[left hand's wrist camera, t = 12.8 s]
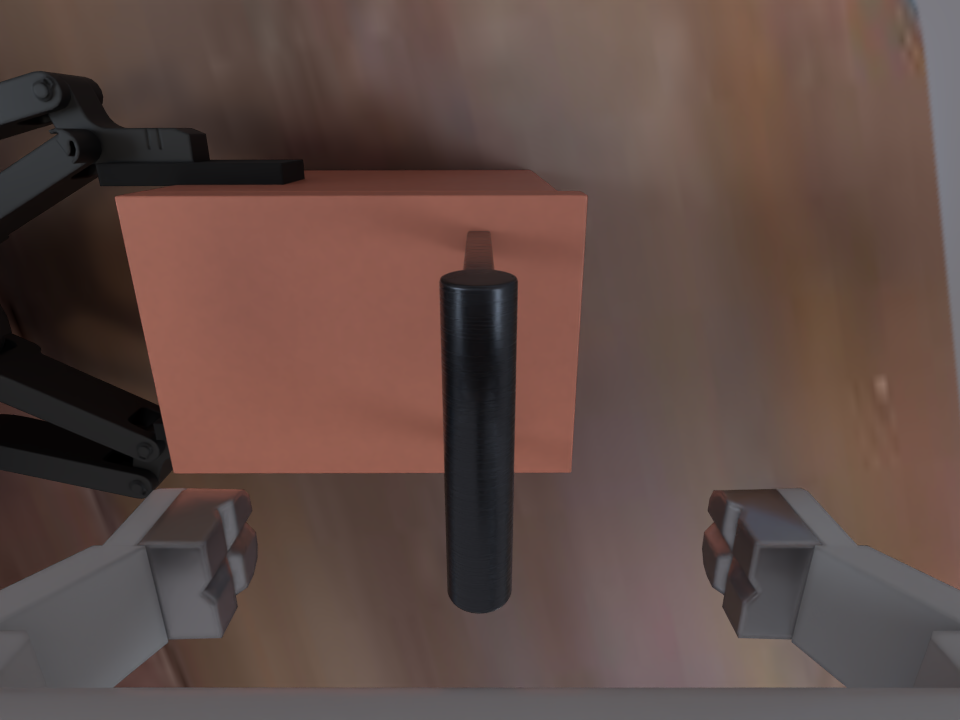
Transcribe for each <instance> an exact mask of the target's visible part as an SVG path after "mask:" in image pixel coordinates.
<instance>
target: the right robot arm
mask: <svg viewBox="0 0 960 720" xmlns="http://www.w3.org/2000/svg"><path fill="white" fill-rule="evenodd" d="M102 103H103V94H102V91H101V89H100V87H99V86H98V84H97V83H96V82H94V81H93V80H92V79H89V78H86V77H80V76H73V75H66V74H58V73H51V72H43V71H36V72H31V73H28V74H25V75H22V76H19V77H15V78H12V79H9V80H6V81H2V82H0V140H1V139H4V138H8V137H11V136H14V135H18V134H21V133H24V132H28V131H31V130H34V129H37V128H41V127H44V126H47V125H51V124H54V126H55V128H54V129H52V130H49V132H50V133H51V134H57V135H56V136H54V137H53V138H51V139H50V140H48V141H47V142H45V143H44V144H42V145H41V146H39V147H38V148H36V149H35V150H33V151H32V152H30V153H29V154H27V155H26V156H24V157H23V158H21V159H20V160H18V161H17V162H15V163H14V164H12V165H11V166H9V167H8V168H6V169H5V170H4V171H2V172H1V173H0V243H2V242H3V241H5V240H6V239H8V238H9V236H8V235H9V234H10V233H12V232H13V231H15V230H16V229H18V228H19V227H21V226H22V225H24V224H26V223H27V222H29V221H30V220H32V219H33V218H35V217H36V216H38V215H40V214H41V213H43V212H44V211H46V210H47V209H49V208H50V207H52V206H54V205H55V204H57V203H58V202H60V201H61V200H63V199H64V198H66V197H67V196H69V195H71V194H72V193H74V192H75V191H77V190H78V189H80V188H81V187H83V186H85V185H86V184H88V183H89V182H91V181H92V180H94V179H95V178H97V177H99V182H100V186H174V185H285V184H288V183H292V182H296V181H299V180H303V179H305V176H304V166H303V160H210V158H209V152H208V145H207V139H206V134H205V133H202V132H200V131H197V130H195V129H192V128H124V127H121V126H119V125H117V124H116V123H114V122H113V121H112V120H111V119H110V118H109V116H108V115H107V113H106V111H105V110H104V108H103V106H102ZM0 402H2V403H5V404H7V405H9V406H12V407H14V408H17V409H19V410H21V411H24V412H26V413H28V414H31V415H33V416H36V417H38V418H40V419H43V420H45V421H42V420H38V419H33V418H29V417H24V416H18V415H9V414H0V470H4V471H9V472H14V473H19V474H23V475H28V476H33V477H38V478H43V479H47V480H52V481H57V482H62V483H67V484H71V485H76V486H81V487H86V488H91V489H95V490H100V491H105V492H110V493H115V494H119V495H124V496H129V497H134V498H146V497H147V496H148V495H149V494H150V493H151V492H152V491H153V490H155V489H156V488H157V487H158V485H159V484H160V483H161V482H162V481H163V480H164V479H165V478H166V477H167V476H168V474H169V473H170V472H171V471H172V470H173V467H172V462H171V458H170V453H169V448H168V444H167V439H166V434H165V430H164V425H163V420H162V416H161V411H160V406H159V405H156V404H154V403H152V402H150V401H147V400H145V399H143V398H141V397H138V396H136V395H134V394H131V393H129V392H127V391H125V390H122V389H120V388H118V387H116V386H113V385H111V384H109V383H106V382H104V381H102V380H100V379H97V378H95V377H93V376H90V375H88V374H86V373H84V372H81V371H79V370H77V369H75V368H72V367H70V366H68V365H65V364H63V363H61V362H59V361H56V360H54V359H52V358H50V357H47V356H45V355H43V354H42V353H41V348H40V347H39V346H38V345H36V344H34V343H32V342H30V341H28V340H25V339H23V338H21V337H19V336H16V335H14V334H12V331H11V328H10V325H9V321H8V318H7V315H6V313H5V312H4V310H3V308H2V306H1V305H0Z"/></svg>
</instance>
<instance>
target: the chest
mask: <svg viewBox="0 0 960 720" xmlns="http://www.w3.org/2000/svg"><path fill="white" fill-rule="evenodd" d="M304 176H305V179H303V180H299V181H296V182H292V183H288V184H285V185H174V186H168V187H163V188H157V189H152V190H146V191H140V192H395V191H557V190H556V189H554V188H553V187H552V186H551V185H549V184H548V183H547V182H545V181H544V180H543V179H542V178H540V177H539V176H538V175H536V174H535V173H534V172H533V171H531V170H304Z"/></svg>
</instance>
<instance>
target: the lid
mask: <svg viewBox="0 0 960 720" xmlns="http://www.w3.org/2000/svg"><path fill="white" fill-rule="evenodd" d="M115 201H116V206H117V210H118V215H119V220H120V224H121V229H122V234H123V238H124V243H125V248H126V252H127V257H128V262H129V266H130V271H131V276H132V280H133V285H134V290H135V294H136V299H137V304H138V308H139V313H140V318H141V322H142V327H143V332H144V336H145V341H146V346H147V350H148V355H149V360H150V364H151V369H152V374H153V378H154V383H155V388H156V392H157V397H158V402H159V406H160V411H161V416H162V420H163V425H164V430H165V434H166V439H167V444H168V448H169V453H170V458H171V462H172V467H173V472H174V473H444V477H445V514H446V551H447V588H448V595H449V597H450V599H451V601H452V602H453V603H454V604H455V605H456V606H457V607H459V608H460V609H462V610H464V611H467V612H471V613H488V612H492V611H495V610H497V609H499V608H500V607H502V606H503V605H504V604H505V603H506V602H507V601H508V599H509V597H510V595H511V591H512V545H513V498H514V473H570V472H571V466H572V449H573V432H574V416H575V399H576V383H577V366H578V350H579V333H580V317H581V300H582V284H583V267H584V251H585V234H586V218H587V201H588V196H587V195H586V194H584V193H583V192H581V191H395V192H135V193H129V194H124V195H118V196H115Z"/></svg>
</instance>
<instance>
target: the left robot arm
mask: <svg viewBox="0 0 960 720" xmlns="http://www.w3.org/2000/svg"><path fill="white" fill-rule="evenodd" d="M251 512H252V507H251V502H250V497H249V494H248V493H247V492H246V491H245V490H243V489H194V488H189V489H186V488H160V489H156V490H153V491H152V492H151V493H150V494H149V495H148V496H147V498H146V499H145V500H144V501H143V502H142V503H141V504H140V505H139V506H138V507H137V508H136V510H135V511H134V512H133V513H132V514H131V515H130V516H129V517H128V518H127V519H126V520H125V522H124V523H123V524H122V525H121V526H120V527H119V528H118V529H117V530H116V531H115V532H114V534H113V535H112V536H111V537H110V538H109V539H108V540H107V541H106V542H105V543H104V544H103V546H91V547H89V548H87V549H85V550H83V551H81V552H79V553H77V554H75V555H72V556H70V557H68V558H66V559H64V560H62V561H60V562H58V563H56V564H54V565H52V566H50V567H47V568H45V569H43V570H41V571H39V572H37V573H35V574H33V575H31V576H29V577H27V578H25V579H23V580H20V581H18V582H16V583H14V584H12V585H10V586H8V587H6V588H4V589H2V590H0V720H960V590H958V589H956V588H954V587H952V586H950V585H948V584H946V583H944V582H941V581H939V580H937V579H935V578H933V577H931V576H929V575H927V574H925V573H923V572H921V571H919V570H917V569H914V568H912V567H910V566H908V565H906V564H904V563H902V562H900V561H898V560H896V559H894V558H892V557H890V556H887V555H885V554H883V553H881V552H879V551H877V550H875V549H873V548H871V547H869V546H857V544H856V543H855V542H854V541H853V540H852V539H851V538H850V537H849V536H848V535H847V534H846V532H845V531H844V530H843V529H842V528H841V527H840V526H839V525H838V524H837V523H836V522H835V520H834V519H833V518H832V517H831V516H830V515H829V514H828V513H827V512H826V511H825V510H824V508H823V507H822V506H821V505H820V504H819V503H818V502H817V501H816V500H815V499H814V498H813V496H812V495H811V494H810V493H809V492H808V491H806V490H804V489H802V488H781V489H757V490H714V491H713V493H712V495H711V497H710V500H709V506H708V512H709V514H710V516H711V517H712V519H713V521H714V523H713V524H712V525H711V526H710V527H709V528H708V529H707V530H706V531H705V532H704V538H703V546H702V552H703V564H704V568H705V571H706V574H707V577H708V579H709V581H710V583H711V585H712V587H713V588H714V589H716V590H717V591H719V592H720V593H722V594H723V595H724V600H723V606H722V607H723V609H724V611H725V613H726V615H727V617H728V619H729V621H730V623H731V625H732V626H733V628H734V630H735V632H736V634H737V636H738V638H761V639H792V643H794V644H795V645H796V646H797V647H798V648H800V649H801V650H802V651H803V652H805V653H806V654H807V655H808V656H809V657H811V658H812V659H813V660H814V661H816V662H817V663H818V664H819V665H820V666H822V667H823V668H824V669H825V670H827V671H828V672H829V673H830V674H831V675H833V676H834V677H835V678H836V679H837V680H839V681H840V682H841V683H842V684H844V685H845V686H846V687H847V688H113V687H114V686H115V685H117V684H118V683H119V682H120V681H122V680H123V679H124V678H125V677H126V676H128V675H129V674H130V673H131V672H132V671H134V670H135V669H136V668H137V667H139V666H140V665H141V664H142V663H143V662H145V661H146V660H147V659H148V658H150V657H151V656H152V655H153V654H154V653H156V652H157V651H158V650H159V649H161V648H162V647H163V646H164V645H165V644H167V643H168V639H198V638H222V636H223V634H224V632H225V630H226V628H227V627H228V625H229V623H230V621H231V619H232V617H233V615H234V613H235V611H236V609H237V607H238V606H237V600H236V595H237V594H238V593H240V592H241V591H243V590H244V589H246V588H247V587H248V585H249V583H250V581H251V579H252V577H253V575H254V571H255V566H256V562H257V551H258V544H257V537H256V532H255V531H254V530H253V529H252V528H251V527H250V526H249V525H248V524H247V523H246V521H247V519H248V517H249V516H250V514H251Z"/></svg>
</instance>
